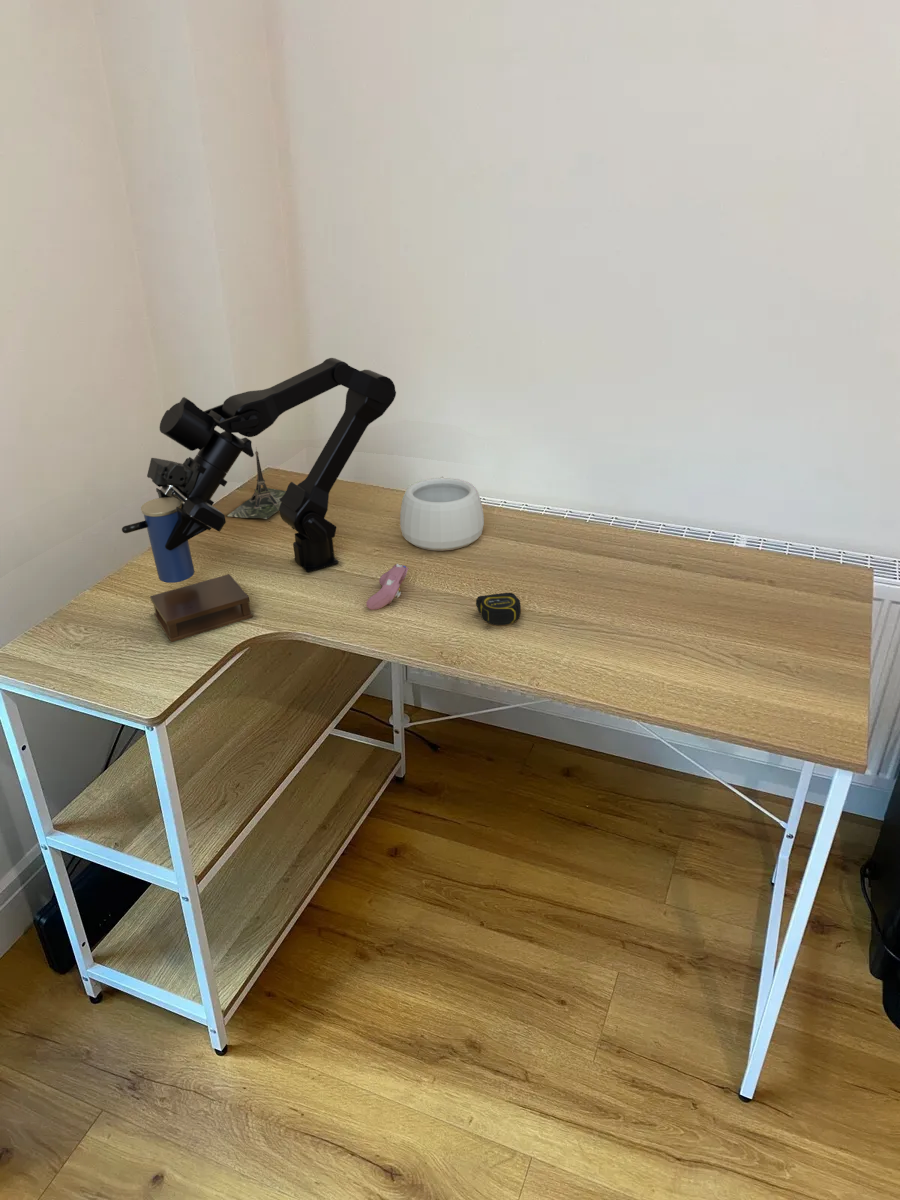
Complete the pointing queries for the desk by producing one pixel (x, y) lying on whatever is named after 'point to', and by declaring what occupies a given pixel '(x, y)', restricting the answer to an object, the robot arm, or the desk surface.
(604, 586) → the desk surface
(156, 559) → the blue cylinder
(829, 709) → the desk surface
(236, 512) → the eiffel tower figurine
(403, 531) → the white round bowl
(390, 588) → the video game controller
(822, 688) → the desk surface
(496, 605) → the tape measure
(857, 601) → the desk surface
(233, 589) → the rack
